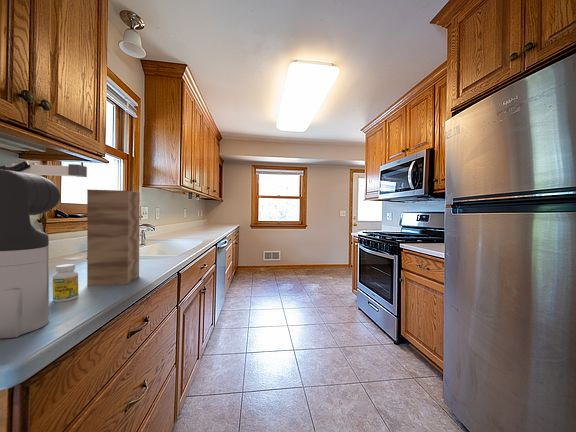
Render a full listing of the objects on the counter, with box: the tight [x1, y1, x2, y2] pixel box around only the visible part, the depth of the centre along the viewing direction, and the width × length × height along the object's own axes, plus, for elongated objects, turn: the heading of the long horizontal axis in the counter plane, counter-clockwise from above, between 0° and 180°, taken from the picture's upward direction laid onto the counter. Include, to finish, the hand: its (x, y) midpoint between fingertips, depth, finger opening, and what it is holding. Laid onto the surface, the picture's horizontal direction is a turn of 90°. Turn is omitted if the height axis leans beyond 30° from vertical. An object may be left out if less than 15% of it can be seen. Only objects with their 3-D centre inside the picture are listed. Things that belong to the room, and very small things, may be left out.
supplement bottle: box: [52, 263, 79, 303], centre depth 69 cm, size 5×5×10 cm
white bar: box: [11, 163, 88, 178], centre depth 82 cm, size 4×19×4 cm, turn 102°
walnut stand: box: [86, 189, 141, 287], centre depth 86 cm, size 10×12×32 cm
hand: (32, 165), depth 81 cm, fingers closed on white bar, 3 cm apart
